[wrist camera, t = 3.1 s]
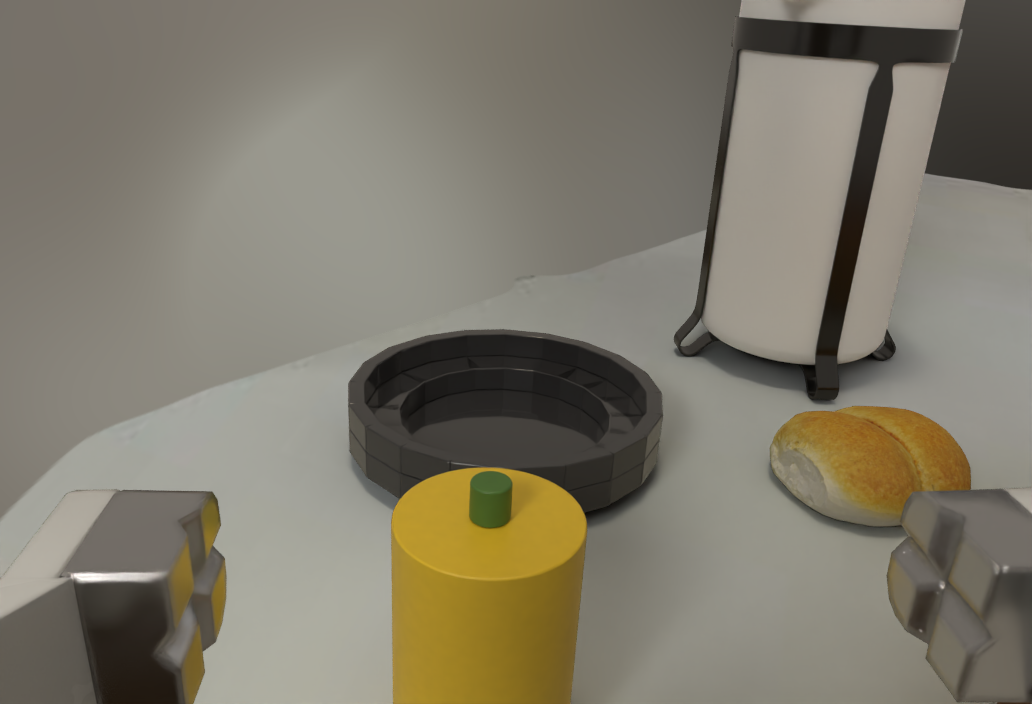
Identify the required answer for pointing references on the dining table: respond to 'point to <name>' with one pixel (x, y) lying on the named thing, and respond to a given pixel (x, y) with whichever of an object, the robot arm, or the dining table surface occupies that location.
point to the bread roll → (866, 461)
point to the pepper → (486, 589)
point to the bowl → (506, 413)
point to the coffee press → (820, 177)
